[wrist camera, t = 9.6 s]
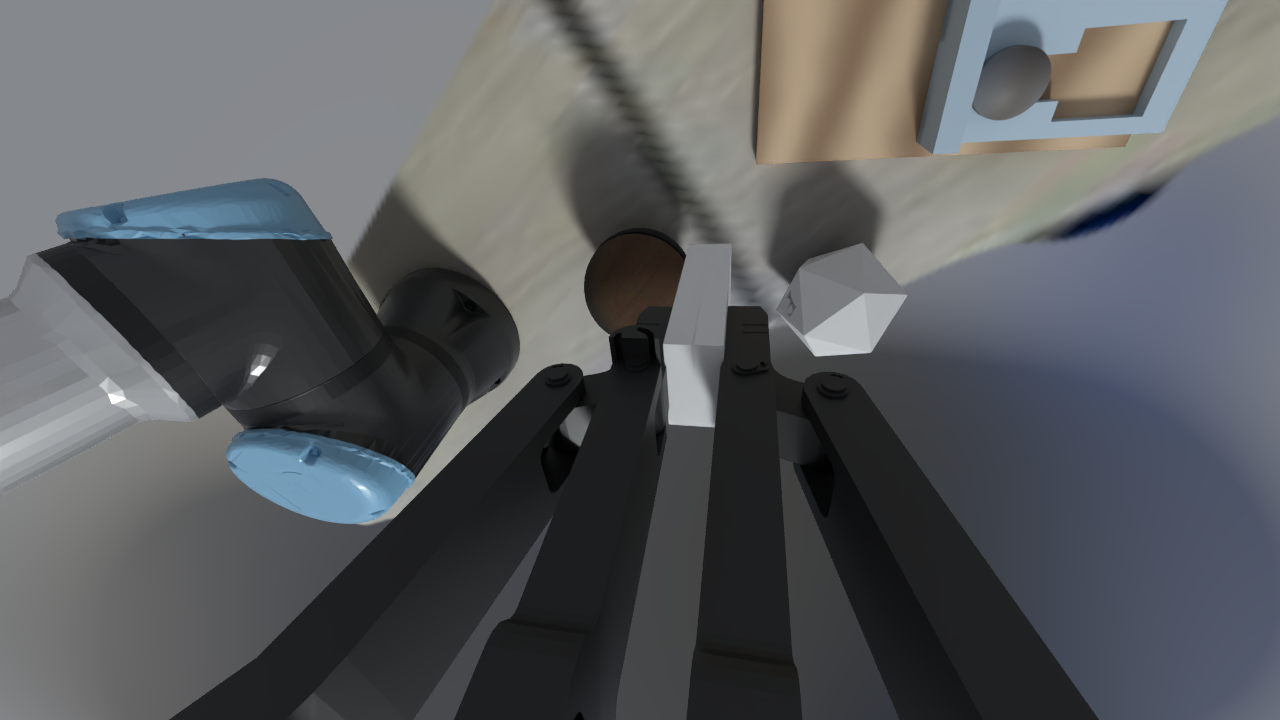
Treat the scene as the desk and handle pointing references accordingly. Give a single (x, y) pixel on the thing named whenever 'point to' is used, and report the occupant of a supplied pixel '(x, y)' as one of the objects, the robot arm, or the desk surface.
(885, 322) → the die
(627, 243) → the toy
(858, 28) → the board
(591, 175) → the desk surface
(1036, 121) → the panel
